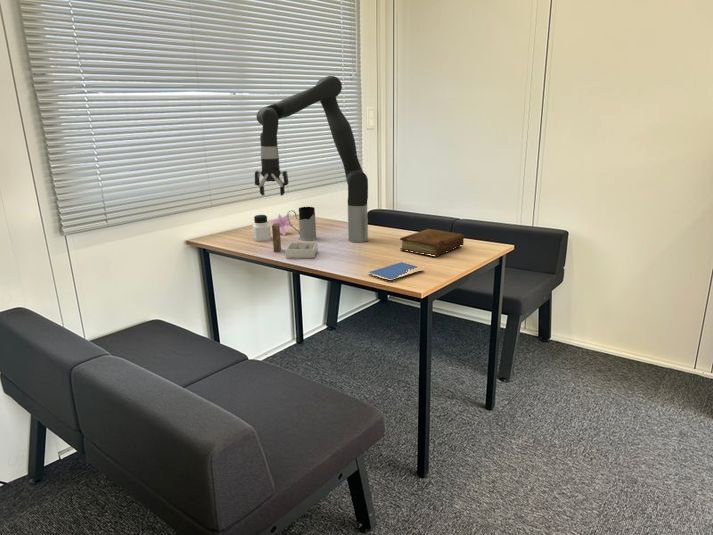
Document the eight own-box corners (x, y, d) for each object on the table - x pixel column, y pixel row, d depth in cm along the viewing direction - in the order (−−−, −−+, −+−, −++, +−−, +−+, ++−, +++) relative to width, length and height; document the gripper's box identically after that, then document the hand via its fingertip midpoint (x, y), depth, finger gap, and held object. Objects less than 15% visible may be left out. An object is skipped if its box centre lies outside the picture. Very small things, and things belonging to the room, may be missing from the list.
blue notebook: (401, 264, 204) (401, 261, 204) (425, 271, 196) (425, 268, 195) (366, 275, 192) (366, 272, 192) (390, 283, 183) (390, 279, 183)
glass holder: (314, 241, 240) (312, 210, 235) (285, 240, 243) (283, 209, 238) (319, 236, 248) (318, 206, 244) (291, 235, 251) (289, 206, 246)
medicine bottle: (271, 240, 243) (269, 215, 239) (256, 242, 240) (254, 217, 237) (267, 237, 249) (266, 213, 246) (253, 238, 247) (251, 214, 243)
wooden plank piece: (281, 249, 227) (279, 223, 223) (279, 252, 223) (277, 225, 219) (275, 249, 227) (274, 223, 223) (273, 252, 223) (271, 225, 219)
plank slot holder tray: (317, 250, 224) (317, 242, 223) (314, 258, 213) (313, 249, 211) (290, 250, 225) (290, 242, 223) (285, 258, 213) (285, 249, 212)
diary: (436, 257, 212) (436, 244, 211) (400, 250, 224) (400, 238, 222) (463, 246, 229) (463, 233, 227) (428, 240, 240) (428, 228, 239)
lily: (266, 232, 258) (264, 218, 251) (285, 223, 264) (283, 208, 257) (281, 244, 252) (279, 229, 245) (299, 233, 258) (298, 219, 251)
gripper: (288, 156, 217) (290, 194, 222) (256, 156, 219) (259, 193, 224) (283, 158, 210) (286, 196, 215) (250, 158, 212) (253, 196, 217)
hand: (272, 195), depth 219 cm, fingers open, 8 cm apart
